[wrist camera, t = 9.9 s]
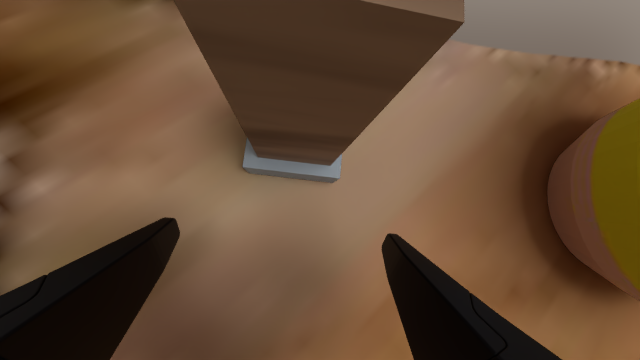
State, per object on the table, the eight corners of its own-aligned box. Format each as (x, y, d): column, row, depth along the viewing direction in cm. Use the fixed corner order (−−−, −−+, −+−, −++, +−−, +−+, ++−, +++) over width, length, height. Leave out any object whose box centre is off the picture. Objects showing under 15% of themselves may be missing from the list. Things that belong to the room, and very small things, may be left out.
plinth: (332, 182, 22) (339, 178, 19) (248, 173, 21) (242, 166, 18) (339, 105, 24) (347, 90, 21) (260, 93, 23) (256, 75, 20)
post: (330, 165, 19) (464, 22, 5) (258, 157, 19) (149, -45, 4) (335, 99, 20) (462, -194, 6) (266, 89, 20) (205, -283, 5)
